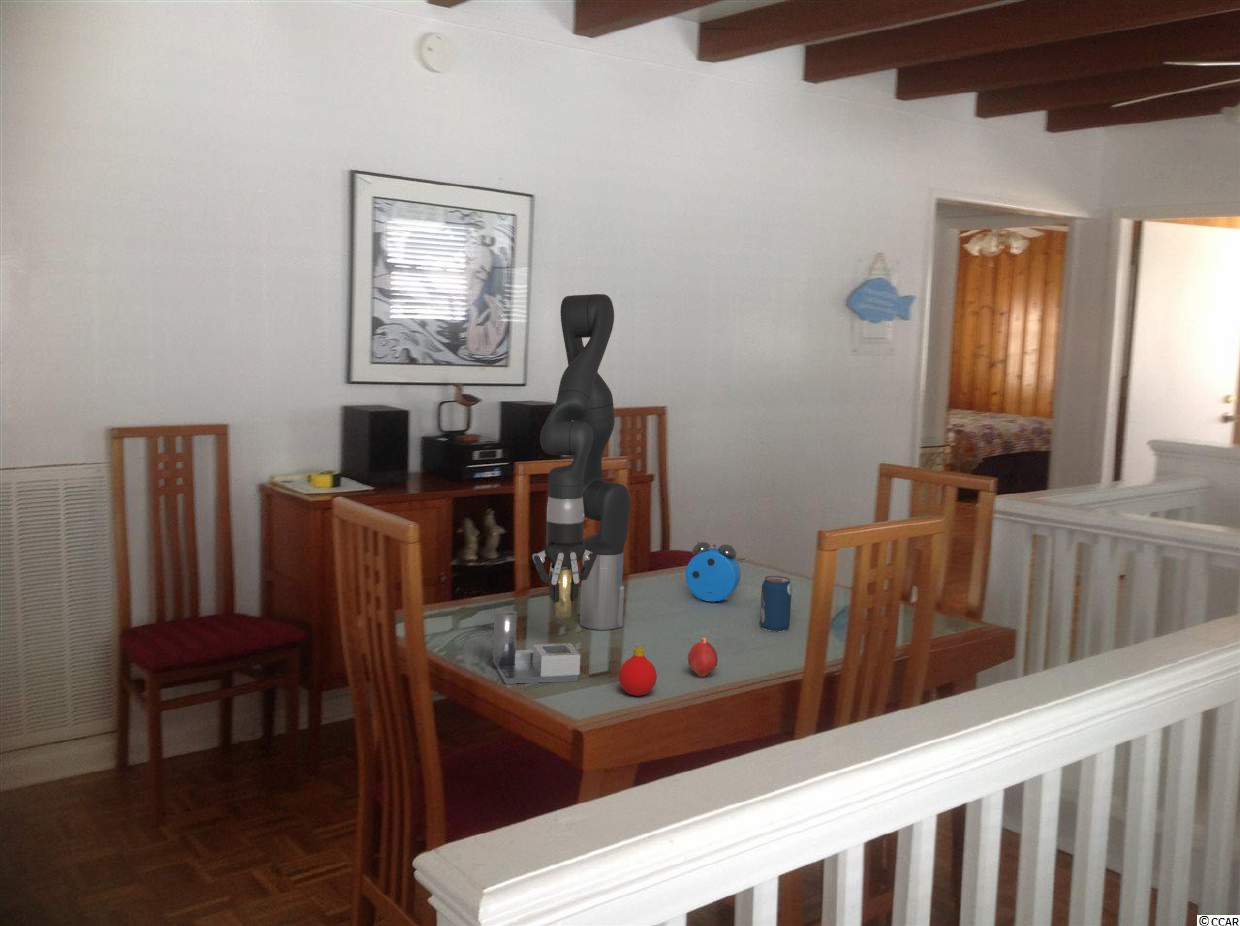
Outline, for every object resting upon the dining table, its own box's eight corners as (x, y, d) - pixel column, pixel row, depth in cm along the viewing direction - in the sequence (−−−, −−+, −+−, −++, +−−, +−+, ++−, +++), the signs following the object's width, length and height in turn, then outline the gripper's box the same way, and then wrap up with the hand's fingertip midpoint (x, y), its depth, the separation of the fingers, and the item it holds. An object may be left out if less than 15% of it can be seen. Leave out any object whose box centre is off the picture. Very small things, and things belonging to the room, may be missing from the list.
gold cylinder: (568, 613, 224) (569, 566, 223) (572, 617, 221) (573, 569, 220) (553, 613, 223) (554, 566, 222) (557, 618, 220) (558, 570, 219)
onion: (685, 671, 216) (687, 633, 215) (713, 672, 216) (715, 633, 215) (689, 681, 210) (691, 641, 209) (718, 681, 211) (720, 642, 210)
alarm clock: (739, 601, 276) (742, 543, 274) (733, 606, 270) (737, 547, 269) (690, 594, 280) (693, 538, 279) (683, 599, 275) (686, 542, 273)
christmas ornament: (651, 688, 205) (654, 637, 204) (659, 700, 198) (662, 648, 197) (615, 688, 204) (617, 636, 203) (621, 701, 197) (623, 648, 196)
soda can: (795, 629, 251) (798, 579, 250) (777, 634, 246) (781, 583, 245) (770, 623, 256) (773, 573, 255) (753, 628, 251) (756, 577, 250)
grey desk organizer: (564, 661, 218) (566, 607, 217) (579, 681, 207) (582, 624, 206) (490, 665, 214) (492, 610, 213) (502, 684, 203) (504, 626, 201)
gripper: (593, 513, 225) (591, 594, 227) (527, 516, 221) (525, 598, 223) (603, 520, 218) (601, 603, 220) (535, 523, 214) (534, 607, 216)
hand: (563, 600), depth 222 cm, fingers closed on gold cylinder, 3 cm apart
